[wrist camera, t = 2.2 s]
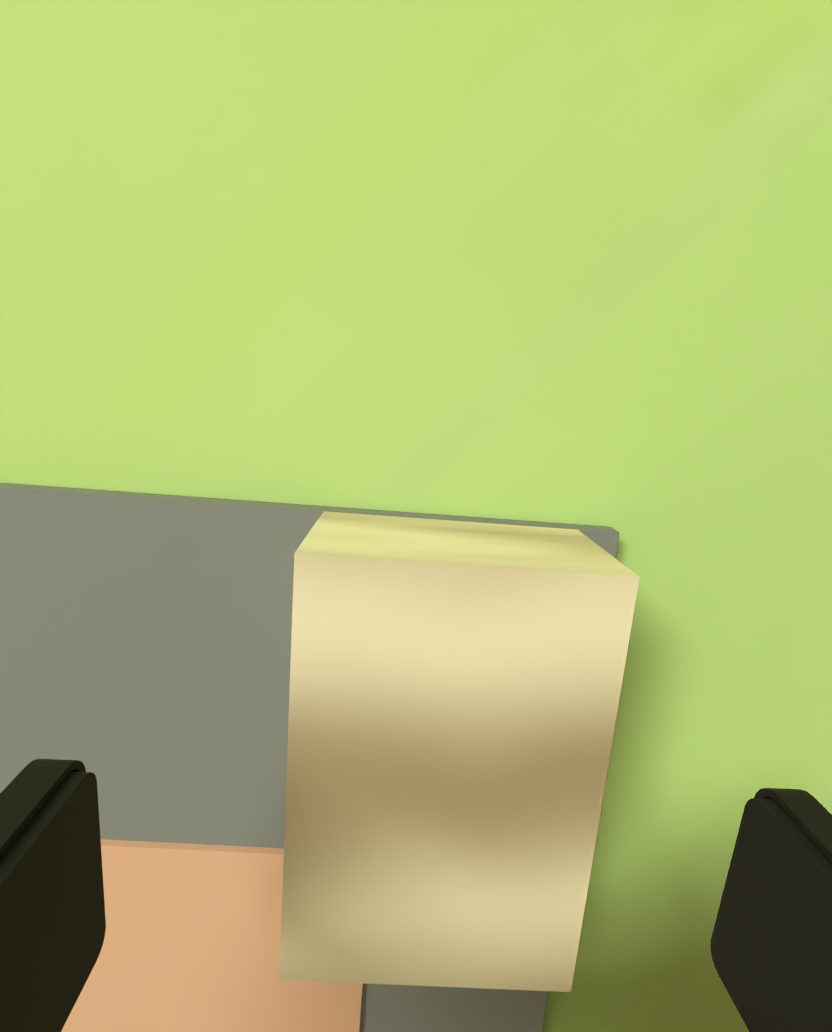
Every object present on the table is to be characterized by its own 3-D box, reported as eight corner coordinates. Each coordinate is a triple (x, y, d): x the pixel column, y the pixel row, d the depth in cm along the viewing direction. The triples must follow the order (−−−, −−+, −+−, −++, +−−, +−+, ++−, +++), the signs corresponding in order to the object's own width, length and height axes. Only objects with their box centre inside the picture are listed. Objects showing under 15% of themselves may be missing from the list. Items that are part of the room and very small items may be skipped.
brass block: (532, 854, 15) (571, 991, 12) (308, 843, 15) (279, 979, 12) (578, 529, 13) (640, 576, 10) (323, 511, 13) (294, 552, 10)
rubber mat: (525, 1087, 18) (530, 1119, 17) (1, 1068, 17) (-18, 1100, 16) (610, 527, 14) (622, 534, 13) (-53, 479, 13) (-81, 484, 13)
